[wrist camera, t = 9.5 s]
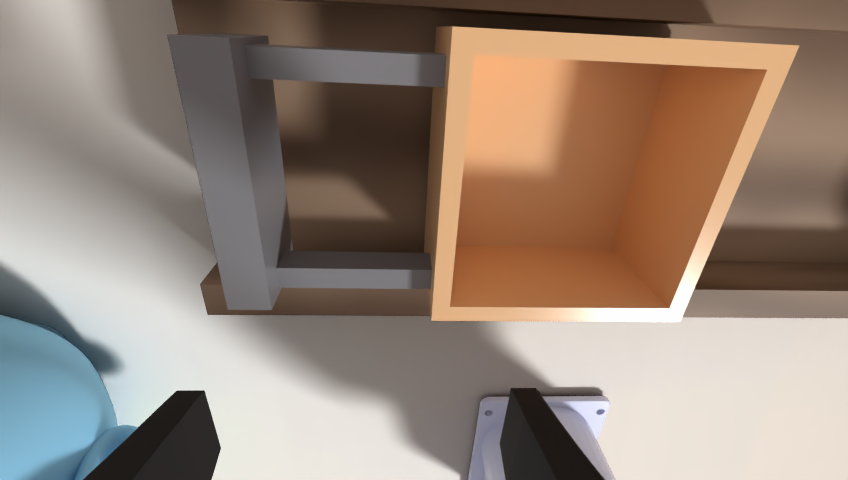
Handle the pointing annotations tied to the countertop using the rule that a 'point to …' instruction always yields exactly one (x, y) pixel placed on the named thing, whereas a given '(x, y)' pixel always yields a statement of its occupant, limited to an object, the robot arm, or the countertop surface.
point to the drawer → (500, 167)
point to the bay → (568, 13)
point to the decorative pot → (51, 407)
